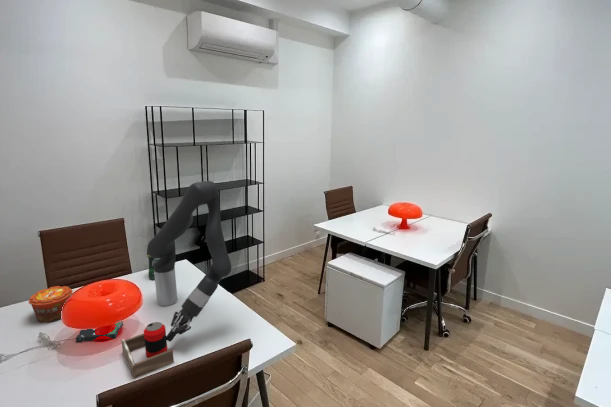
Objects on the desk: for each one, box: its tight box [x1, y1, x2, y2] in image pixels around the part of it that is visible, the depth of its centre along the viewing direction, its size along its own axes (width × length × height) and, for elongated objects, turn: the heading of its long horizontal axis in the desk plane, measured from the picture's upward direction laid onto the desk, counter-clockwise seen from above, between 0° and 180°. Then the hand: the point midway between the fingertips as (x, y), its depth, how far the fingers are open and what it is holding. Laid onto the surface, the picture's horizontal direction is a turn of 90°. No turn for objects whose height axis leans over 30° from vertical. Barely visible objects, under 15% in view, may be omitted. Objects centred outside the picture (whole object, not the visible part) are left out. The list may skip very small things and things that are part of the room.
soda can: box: [143, 321, 169, 359], centre depth 132 cm, size 8×8×12 cm
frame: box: [121, 332, 175, 379], centre depth 131 cm, size 17×14×6 cm
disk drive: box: [75, 320, 124, 343], centre depth 145 cm, size 10×3×15 cm
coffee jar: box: [146, 250, 160, 281], centre depth 194 cm, size 10×8×19 cm
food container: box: [28, 285, 73, 323], centre depth 157 cm, size 16×16×11 cm
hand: (167, 340), depth 135 cm, fingers closed
